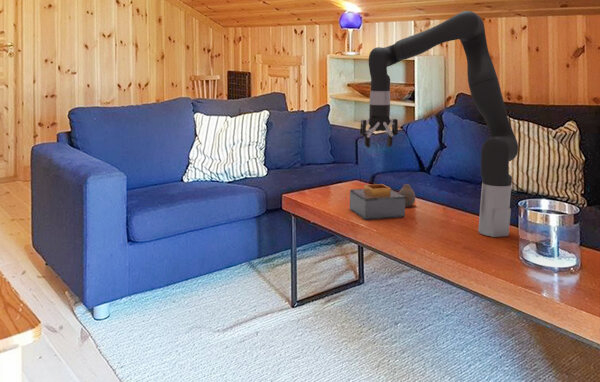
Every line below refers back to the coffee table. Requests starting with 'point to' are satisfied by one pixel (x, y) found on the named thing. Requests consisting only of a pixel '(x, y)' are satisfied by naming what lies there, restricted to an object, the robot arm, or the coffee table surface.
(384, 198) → the grey box with opening
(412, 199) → the vase
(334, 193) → the coffee table surface
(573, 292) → the coffee table surface
